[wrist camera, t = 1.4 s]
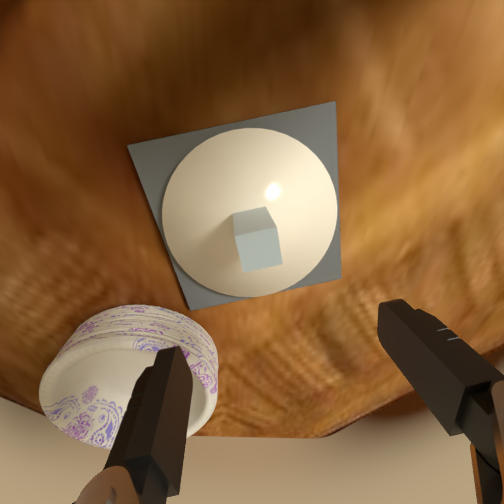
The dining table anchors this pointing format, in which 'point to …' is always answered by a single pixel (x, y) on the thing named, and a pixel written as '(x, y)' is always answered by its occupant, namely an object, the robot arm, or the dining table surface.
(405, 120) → the dining table surface
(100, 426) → the paper bowls
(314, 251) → the lid
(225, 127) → the mat
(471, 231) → the dining table surface
